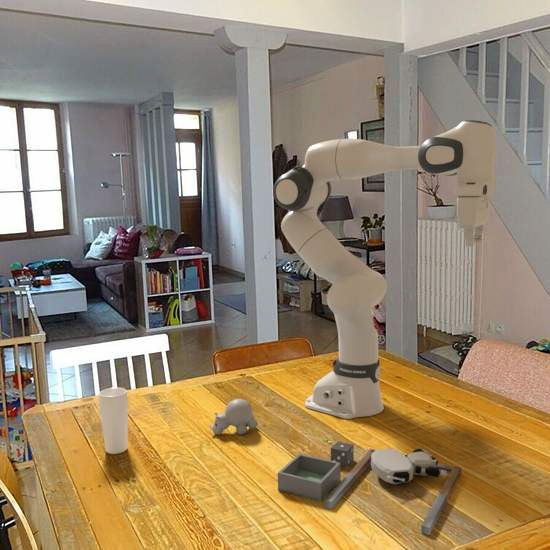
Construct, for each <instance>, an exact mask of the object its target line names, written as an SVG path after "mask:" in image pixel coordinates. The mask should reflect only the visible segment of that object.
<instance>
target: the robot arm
mask: <svg viewBox="0 0 550 550" xmlns="http://www.w3.org/2000/svg"><path fill="white" fill-rule="evenodd" d="M496 138H497V137H496V131H495V128H494V126H493V125H491V124H490V123H489V122H486V121H481V120H473V119H465V120H462V121H461V122H460V123H459V124H458V125H456V126H455V127H453V128H451V129H450V130H448V131H445V132H443V133H441V134H437V135H434V136H432V137H430V138H427V139H426V140H425V141H423V143H422V144H421V145H412V146H411V145H410V146H407V145H406V146H394V145H388V144H384V143H379V142H375V141H371V140H366V139H359V138H340V139H339V138H338V139H331V140H326V141H322V142H317V143H314V144H312V145H310V146H309V147H308V149H307V150H306V153H305V156H304V164H303V166H301V165H296V166H295V167H292V169H290V170H288V171H287V172H286V173H284V174H282V175H281V176H279V177H278V178H277V180H276V181H275V183H274V184H273V187H272V188H273V189H272V195H273V198H274V201H275V202H276V204H277V205H278V206H279V207H281V208H282V209H283V210H287V213H286V214H285V216H283V218H282V221H281V223H280V228H281V232H282V234H283V235H284V237H285V238H286V240H287V242H288V243H289V245H290V246H291V247H292V248H293V250H294V251H295V252H296V253H297V255H298V256H299V257H300V258H301V259H302V261H304V263H305V264H306V265H307V266H308V267H309V268H310V269H311V271H312V272H313V273H314V274H315V275H316V276H318V277H320V278H322V279H324V280H326V281H327V282H329V283H330V284H331V286H330V288H329V289H328V291H327V294H326V302H327V306H328V308H329V309H330V311H331V312H332V313H333V315H334V320H335V323H336V328H337V334H338V335H337V336H338V355H337V356H336V358H335V359H333V360H332V362H331V363H330V368H332V370H331V371H330V372H329V373H327V374H326V375H324V376H323V377H322V378H320V379H319V380H317V382H316V383H315V385H314V386H313V391H312V392H313V393H312V394H311V395H310V396H308V397H307V399H305V402H304V406H305V408H307V409H310V410H314V411H317V412H320V413H325V414H327V415H332V416H335V417H339V418H342V419H345V420H346V419H347V420H349V419H353V418H354V419H355V418H360V417H363V418H364V417H371V416H375V415H378V414H380V413H382V412H383V410H384V409H385V407H384V404H383V403H384V402H383V400H382V395H381V389H380V379H381V377H380V376H381V364H380V363H381V362H380V359H379V332H378V330H377V329H376V327H375V323H374V318H373V313H372V312H373V308H374V307H376V306H377V305H379V304H380V303H381V301H383V299H384V297H385V296H386V293H387V288H388V285H387V280H386V278H385V277H384V276H383V275H382V274H381V273H380V272H378V271H376V270H374V269H372V267H369V266H368V265H367V264H366V263H365V262H363V261H362V260H360V259H359V258H358V257H357V256H356V255H354V254H353V253H352V252H350V251H349V250H348V249H347V248H346V247H345V246H344V245H343V244H342V243H341V242H340V241H339V240H338V239H337V238H336V237H335V236H334V235H333V234H332V232H331V231H330V230H329V229H328V227H326V226H325V225H324V224H323V223H322V221H321V220H320V218H319V217H318V215H320V214H321V213H322V212H323V210H324V207H325V205H326V204H327V202H328V201H329V200H330V197H331V194H332V184H331V182H332V181H352V180H359V179H360V180H361V179H365V178H370V177H373V176H376V175H381V174H385V173H388V172H393V171H394V172H395V171H407V170H408V171H409V170H411V171H412V170H413V171H414V170H415V171H416V170H423V171H425V172H426V173H429V174H431V175H435V176H446V177H454V176H456V185H455V188H454V196H455V197H457V198H456V199H457V200H456V211H457V214H456V215H457V224H458V228H460V229H464V230H463V233H464V238H465V246H466V247H473V246H474V245H475V243H481V242H483V233H484V228H485V226H484V225H486V224H487V223H489V221H490V196H491V195H492V196H493V195H495V189H496V187H495V185H496V172H495V168H494V166H495V164H494V163H495V160H496V155H497V149H496V148H497V141H496Z"/></svg>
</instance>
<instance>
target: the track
mask: <svg viewBox="0 0 550 550" xmlns="http://www.w3.org/2000/svg"><path fill="white" fill-rule="evenodd" d="M369 449H370V450H375V451H376V450H377V449H374V448H369ZM372 453H373V452H372V451H366V453H365V455H364V456H363V457H362V458H361V459H360V460H359V461H358V462H357V463H356V465H354V467H353V468H352V469H351V470H350V471H349V472H348V474H347V475H345V477H344V478H343V479H342V480H340V481H339V483H338V484H337V485H336V486H335V487H334V488H333V489H332V490H331V492H330V493H329V494H328V495H327V496H326V497H325V498H324V508H326V509H329V510H333V508H334V507H335V506H336V504H337V503H338V502H339V501H340V500H341V499H342V497H344V495H345V494H346V493H347V491H348V490H349V489H350V488H351V487H352V485H354V483H355V482H356V481H357V480H358V479H359V477H360V476H361V475H362V474H363V473H364V472H365V470H366V469H367V468H368V467H369V466H370V465H371V455H372ZM436 467H438V468H439V471H440V470H445V471H446V472H450V473H449V475H448V477H447V478H446V480H445V482H444V484H443V486H442V488H441V489H440V491H439V493H438V495H437V497H436V498H435V501H434V502H433V504H432V506H431V507H430V509H429V511H428V513H427V515H426V516H425V518H424V520H423V522H422V524H421V529H420V530H421V531H420V532H421V534H422V535H423V534H424V535H427V536H431V533H432V531H433V530H434V527H435V526H436V523H437V522H438V520H439V518H440V516H441V514H442V512H443V511H444V510H443V509H444V508H445V506H446V504H447V502H448V500H449V499H450V496H451V495H452V492H453V490H454V488H455V487H456V485H457V483H458V481H459V479H460V477H461V475H462V467H460V466H455V465H454V466H453V465H447V464H444V463H439V462H438V465H437V466H436ZM345 492H346V493H345Z"/></svg>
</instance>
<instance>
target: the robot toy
mask: <svg viewBox="0 0 550 550" xmlns="http://www.w3.org/2000/svg"><path fill="white" fill-rule="evenodd" d="M370 449H371V448H366V449H365V450H366V452H368V451H372V452H373V453H372V455H371V463H370V467H371V469H372V471H373V473H374V474H376V475H377V477H379V478H380V479H381V480H382V481H384V482H386V483H389V484H392V485H399V484H402V483H403V484H404V483H408V482H410V481H411V480H413V478H414V475H415V476H421V477H426V476H429V477H431V478H437V479H439V477H444V478H445V477H447V476H448V471H445V470H440V469H439V468H438V467H436V466H437V465H438V463H439V462H438V459H437V458H436V457H434V455H432V454H431V453H428V451H427V450H426V449H424V448H422V449H421V448H417V449H414V450H413V451H412V452H410V453H408V454H403V452H401V451H399V450H397V449H393V448H383V449H375V450H376V451H375V450H370Z"/></svg>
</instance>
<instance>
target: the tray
mask: <svg viewBox="0 0 550 550" xmlns="http://www.w3.org/2000/svg"><path fill="white" fill-rule="evenodd" d="M341 479H342V478H341V466H340V463H339V462H334V461H331V459H330V460H329V459H326V458H325V459H324V458H320V457H316V456H313V455H312V456H311V455H308V454H302V453H298V454H297V455H296V456H295V457H294V458H293V459H291V461H289V462H288V463H287V464H285V466H284V467H282V469H280V470H279V471H278V472H277V490H278V491H279V492H283V493H286V494H289V493H290V495H293V494H294V495H293V496H297V495H298V496H297V497H302V498H305V499H309V500H312V501H313V500H314V501H316V502H320V503H321V502H323V500H325V499H326V498H327V497H328V495H329V494H330V493H331V492H332V491H333V490H334V489H335V488H336V487H337V485H338V484H339V483H340V482H341V481H342V480H341ZM337 483H338V484H337ZM336 484H337V485H336ZM328 493H329V494H328ZM327 494H328V495H327Z"/></svg>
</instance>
